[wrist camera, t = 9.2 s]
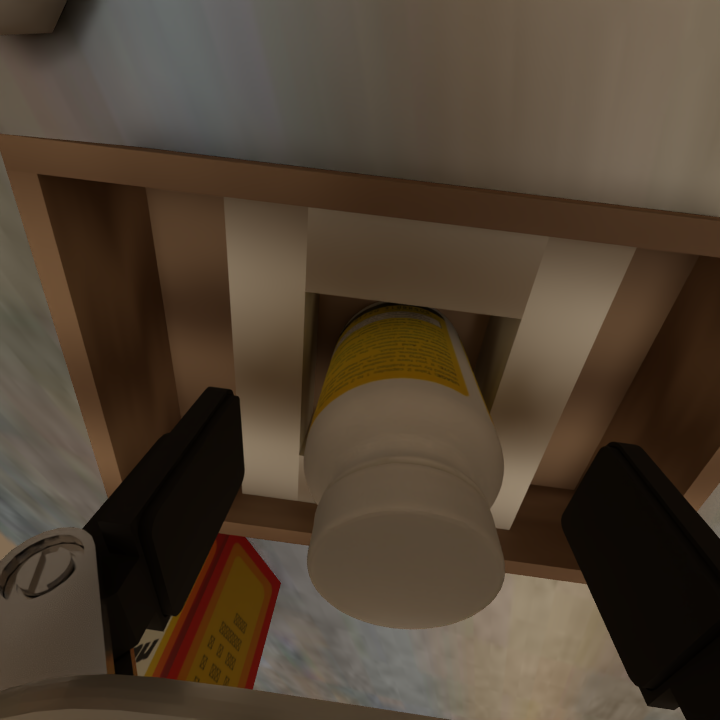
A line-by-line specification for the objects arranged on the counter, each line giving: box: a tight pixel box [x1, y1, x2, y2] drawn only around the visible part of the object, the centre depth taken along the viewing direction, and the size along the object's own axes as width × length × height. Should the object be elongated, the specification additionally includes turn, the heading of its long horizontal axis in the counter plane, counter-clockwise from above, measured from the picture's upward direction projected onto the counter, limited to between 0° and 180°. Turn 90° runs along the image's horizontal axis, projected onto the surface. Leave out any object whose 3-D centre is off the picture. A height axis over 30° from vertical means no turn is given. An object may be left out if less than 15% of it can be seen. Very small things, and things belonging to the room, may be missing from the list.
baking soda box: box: [134, 533, 281, 690], centre depth 19 cm, size 10×6×16 cm
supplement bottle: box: [304, 301, 505, 629], centre depth 12 cm, size 5×5×10 cm
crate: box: [0, 134, 720, 584], centre depth 14 cm, size 14×22×6 cm, turn 84°
